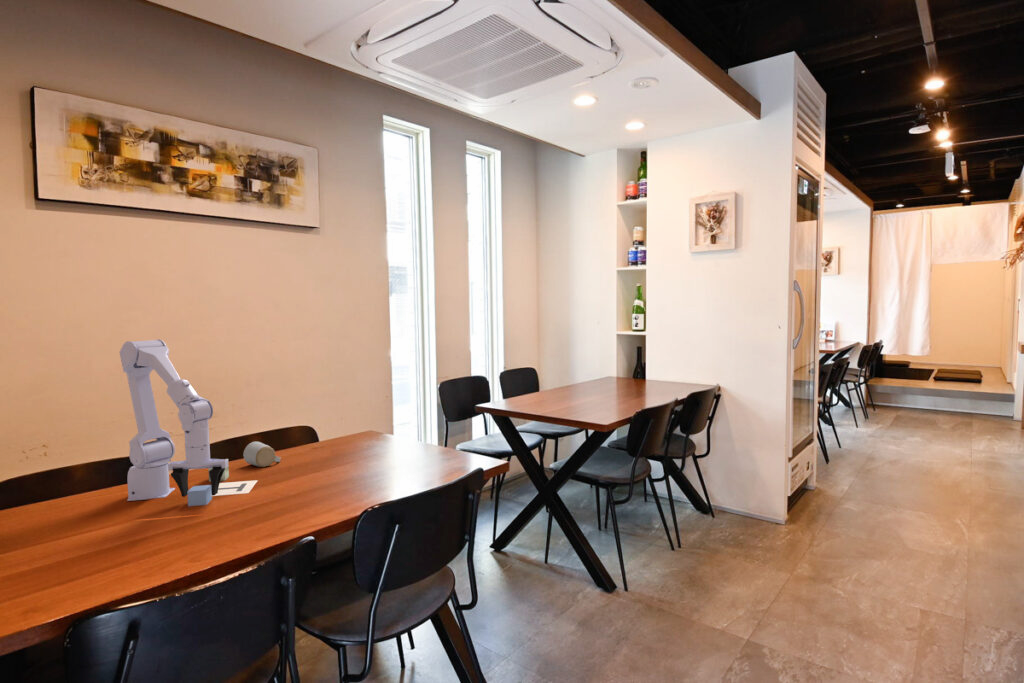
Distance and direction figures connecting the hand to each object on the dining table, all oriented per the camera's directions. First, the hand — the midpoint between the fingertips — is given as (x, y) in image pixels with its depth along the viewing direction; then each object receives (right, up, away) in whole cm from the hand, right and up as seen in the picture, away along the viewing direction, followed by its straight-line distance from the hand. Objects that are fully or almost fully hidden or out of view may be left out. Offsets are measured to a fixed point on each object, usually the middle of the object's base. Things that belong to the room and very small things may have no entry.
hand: (200, 494), depth 151 cm
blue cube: (0, -3, 0) cm, 3 cm away
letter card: (+2, -2, +12) cm, 12 cm away
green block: (-6, -1, +21) cm, 22 cm away
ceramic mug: (0, 0, +38) cm, 38 cm away
